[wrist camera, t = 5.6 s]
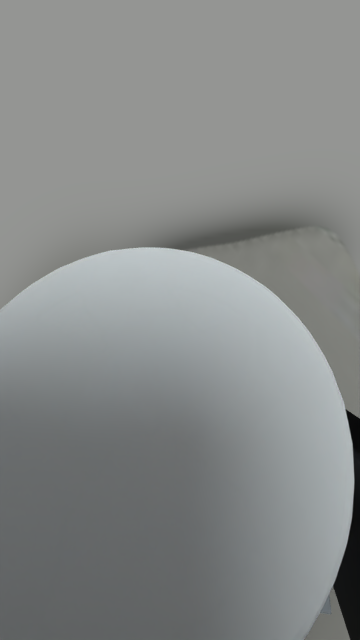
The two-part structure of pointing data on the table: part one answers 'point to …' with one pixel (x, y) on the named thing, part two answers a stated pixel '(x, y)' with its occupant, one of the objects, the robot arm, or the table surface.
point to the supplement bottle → (166, 456)
